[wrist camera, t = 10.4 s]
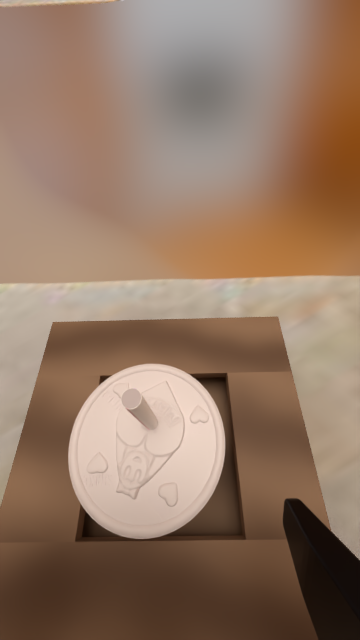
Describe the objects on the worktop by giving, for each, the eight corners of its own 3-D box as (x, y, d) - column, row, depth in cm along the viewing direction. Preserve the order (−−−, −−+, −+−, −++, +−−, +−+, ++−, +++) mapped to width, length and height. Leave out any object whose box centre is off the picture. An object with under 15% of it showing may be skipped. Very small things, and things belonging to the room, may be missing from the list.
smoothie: (218, 420, 19) (269, 343, 7) (195, 520, 16) (216, 677, 4) (141, 395, 20) (75, 291, 8) (106, 484, 17) (-79, 524, 5)
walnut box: (323, 625, 14) (367, 676, 11) (8, 627, 14) (-48, 677, 11) (264, 338, 23) (277, 316, 20) (72, 343, 24) (52, 322, 20)
